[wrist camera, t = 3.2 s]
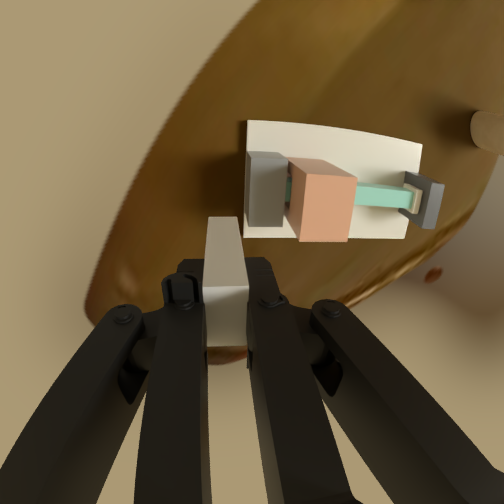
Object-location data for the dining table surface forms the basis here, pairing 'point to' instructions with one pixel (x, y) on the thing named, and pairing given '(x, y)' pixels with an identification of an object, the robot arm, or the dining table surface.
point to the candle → (488, 131)
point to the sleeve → (319, 200)
